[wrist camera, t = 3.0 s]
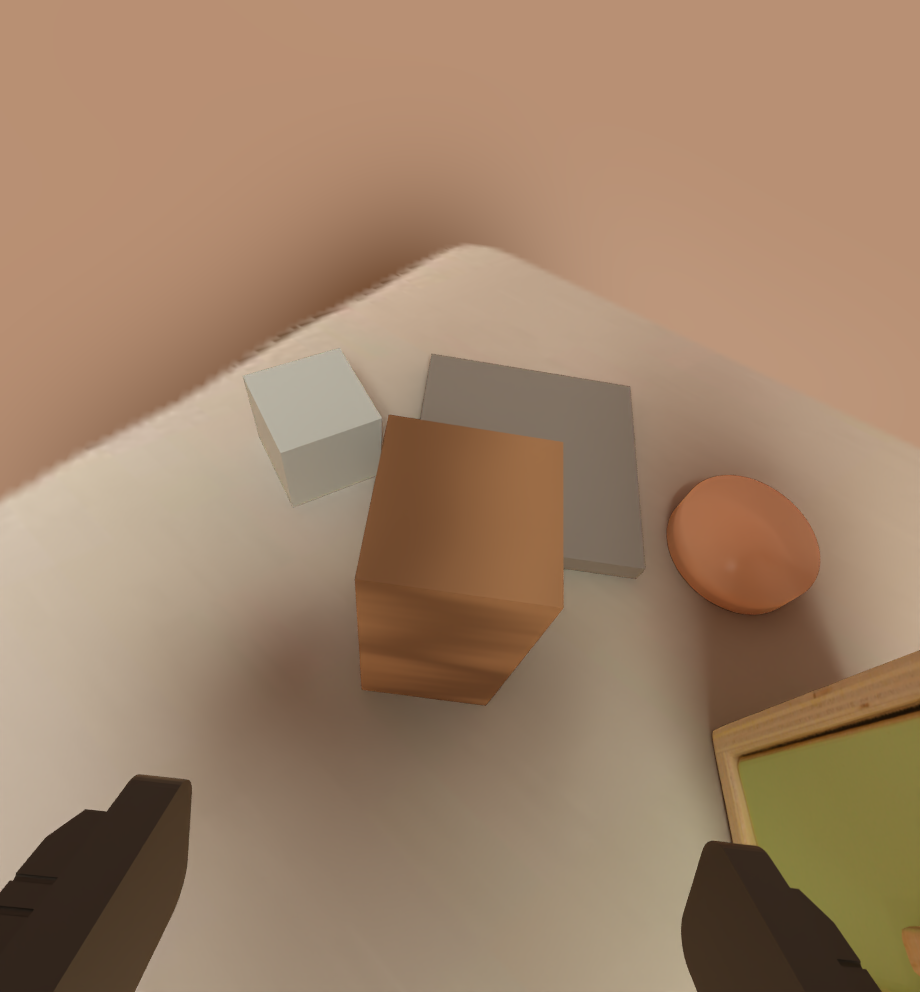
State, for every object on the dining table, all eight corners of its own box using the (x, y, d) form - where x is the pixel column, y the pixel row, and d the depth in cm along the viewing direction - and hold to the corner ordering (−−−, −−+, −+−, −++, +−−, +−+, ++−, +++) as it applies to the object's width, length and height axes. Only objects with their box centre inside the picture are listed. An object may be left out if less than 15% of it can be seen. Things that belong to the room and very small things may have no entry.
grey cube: (343, 410, 27) (339, 347, 24) (380, 475, 26) (381, 418, 22) (259, 438, 26) (242, 375, 22) (293, 508, 24) (280, 453, 21)
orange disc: (755, 483, 28) (773, 466, 27) (823, 599, 25) (848, 586, 24) (645, 502, 26) (659, 485, 25) (704, 627, 24) (723, 615, 22)
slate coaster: (622, 399, 30) (630, 386, 29) (635, 578, 24) (645, 569, 24) (429, 368, 29) (431, 353, 28) (400, 544, 24) (400, 533, 23)
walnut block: (493, 590, 23) (563, 442, 15) (485, 705, 21) (563, 607, 12) (382, 574, 23) (388, 414, 15) (361, 689, 21) (354, 578, 12)
